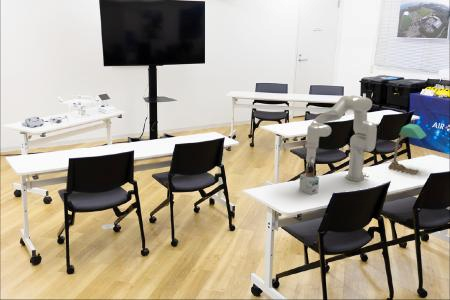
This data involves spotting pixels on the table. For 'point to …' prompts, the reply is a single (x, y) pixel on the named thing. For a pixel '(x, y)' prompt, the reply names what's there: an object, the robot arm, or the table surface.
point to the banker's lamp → (406, 131)
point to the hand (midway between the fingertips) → (310, 170)
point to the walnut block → (309, 173)
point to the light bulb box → (309, 184)
